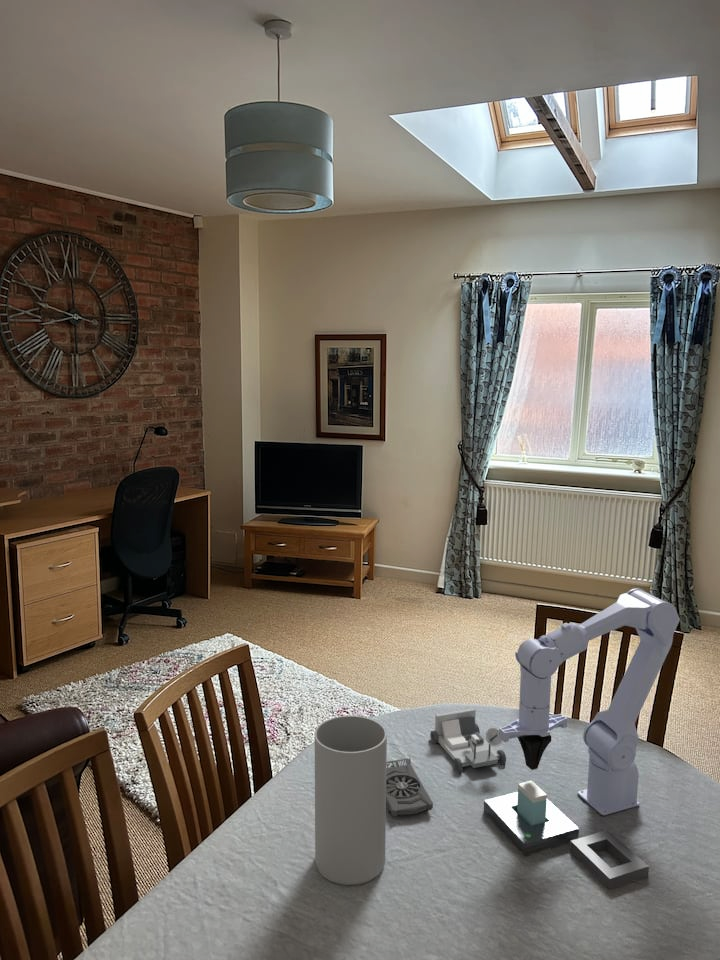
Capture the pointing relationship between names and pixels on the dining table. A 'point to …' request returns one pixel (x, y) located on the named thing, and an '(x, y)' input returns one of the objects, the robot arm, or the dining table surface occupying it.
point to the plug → (531, 803)
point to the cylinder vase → (350, 799)
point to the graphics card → (405, 790)
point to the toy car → (466, 740)
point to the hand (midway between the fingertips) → (531, 766)
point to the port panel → (524, 836)
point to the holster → (607, 875)
